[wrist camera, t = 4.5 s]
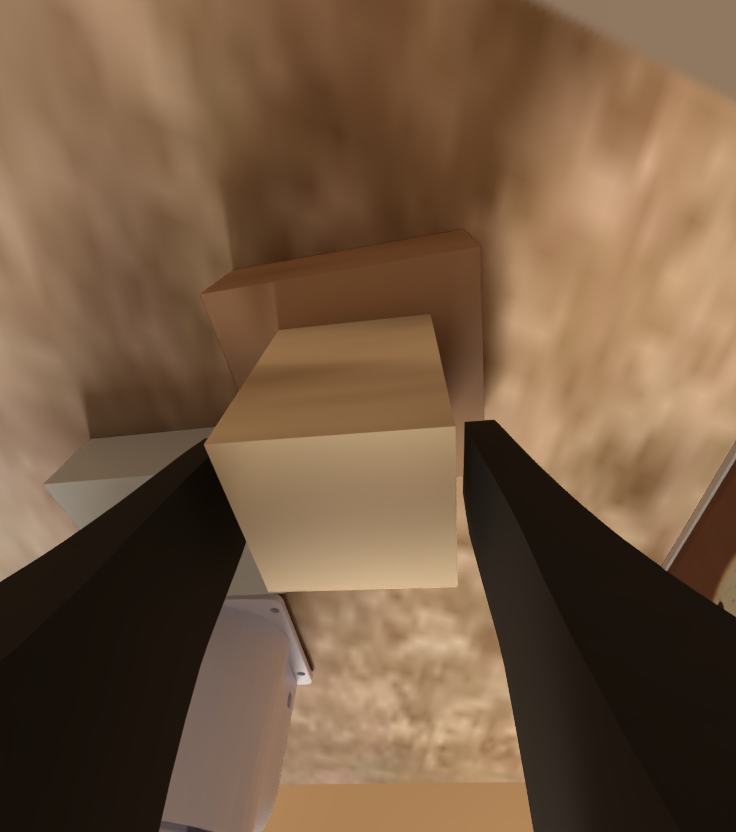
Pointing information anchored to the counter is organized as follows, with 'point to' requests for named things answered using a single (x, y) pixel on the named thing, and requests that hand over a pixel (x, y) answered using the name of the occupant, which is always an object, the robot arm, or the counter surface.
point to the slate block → (132, 484)
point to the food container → (710, 541)
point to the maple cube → (344, 459)
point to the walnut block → (364, 306)
